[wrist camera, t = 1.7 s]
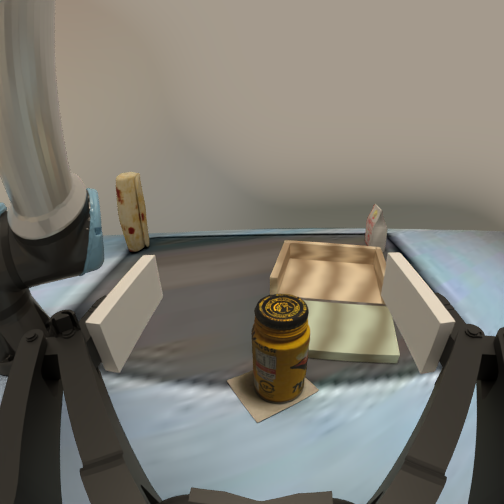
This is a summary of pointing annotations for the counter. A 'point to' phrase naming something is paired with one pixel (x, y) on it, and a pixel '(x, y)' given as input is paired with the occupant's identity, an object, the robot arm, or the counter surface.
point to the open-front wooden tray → (339, 299)
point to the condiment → (276, 357)
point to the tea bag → (376, 229)
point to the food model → (132, 210)
